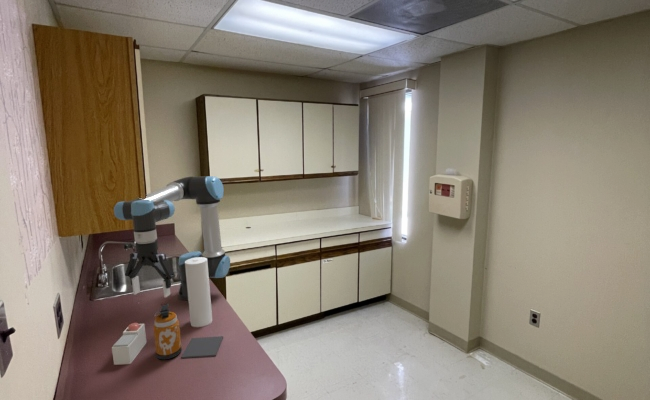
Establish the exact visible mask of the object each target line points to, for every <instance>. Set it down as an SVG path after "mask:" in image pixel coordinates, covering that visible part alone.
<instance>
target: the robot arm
mask: <svg viewBox="0 0 650 400" xmlns="http://www.w3.org/2000/svg"><path fill="white" fill-rule="evenodd" d="M224 190H225V189H224V185H223V182H222V180H220V178H219V177H217V176H210V175H208V176H207V175H205V176H204V175H203V176H199V175H198V176H185V177H181V178H179V179H176V180H173V181H171V182H168V183H167V184H166V185H165V186H164V187H162V188H159V189H157V190H155V191H152V192H150V193H147V194H146V195H147V196H146V198H145V199H142V198H139V197H138V198H139V199H137V198H135V199H132V200H128V201H126V200H123V201H118V202H116V204H115V205H114V207H113V213H114V217H115V218H116V219H118V220H121V221H132V226H133V236H134V237H133V238H134V242H135V243H134V248H135V251H134V252H131V253H130V254H129V261H128V264H127V268H126V270H125V273H124V275H125V277H128V278H129V279H130V285H131V286H132V292H133V295H138V294H139V293H141V287H140V278H139V275H138V274H139V272H140V271H141V269H142V268H143V266H148V267H152V268H154V270H155V271H156V272H157V273H158V274H159V275H160V276H161V277H162V279H163V280H162V288H163V298H168V297H169V296H170V295H171V287H172V282H171V281H172V279H173V278H175V277H176V273H175V272H174V271H173V268H172V267H171V265H170V263H169V261H168V259H167V255H166V253H161V254H159V253H158V250H159V244H158V240H157V239H158V234H157V225H156V223H157V222H160V221H164V220H168V219H169V218H170V217H172V216H173V215H174V214H175V209H176V208H175V205H174V203H173V202H179V201H181V200H195V202H196V203H195V204H196V205H197V206H198V207H199V211H200V221H201V229H202V238H203V247H204V248H203V249H204V251H203V252H201V251H200V250H197V251H196V250H195V251H190V252H187V253H183V254H181V255H180V256H179V258H178V268H179V269H178V270H179V278H180V284H179V288H178V292H177V294H178V295H177V297H178V299H180V300H182V301H188V290H187V280H186V269H185V261H186V260H188V259H191V258H196V257H205V258H207V262H208V274H209V279H211V278H213V279H219V278H220V279H221V278H225V277H226V276H227V275H228V273H229V271H230V267H231V258H230V256H229V255H226V251H225V250H224V249H223V248H222V240H221V239H222V238H221V228H220V220H219V218H220V217H219V207H218V205H219V204H220V203H221V199H223V197H224V192H225V191H224Z"/></svg>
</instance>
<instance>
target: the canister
mask: <svg viewBox="0 0 650 400" xmlns="http://www.w3.org/2000/svg"><path fill="white" fill-rule="evenodd" d="M154 317H155V318H154V321H153V322H154V324H153V335H154V344H155V352H156V354H155V355H156V358H158V359H160V360H169V359H171V358H175V357H176V356H178V355H179V354H180V353H182V350H183V349H182V341H181V329H180V321H179V319H178V315H177V314H176V313H175V312H174V311H170V306H169V303H168V302H167V304H164V305H163V304H162V303H161V308H160V310H159V311H157V312H156V313H155V314H154Z"/></svg>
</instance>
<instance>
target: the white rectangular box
mask: <svg viewBox="0 0 650 400" xmlns="http://www.w3.org/2000/svg"><path fill="white" fill-rule="evenodd" d="M138 324H139V329H138V330H137V331H129V328H128V326H127V327H126V329H124V331H122V335H121V337H120V338H118V340H117V341H116V342H114V344H113V346H112V347H111V353H112V358H113V366H116V365H117V366H118V365H132V363H133V361H134V360H135V359H136V358H137V357H138V355H139V354H140V353H141V352H142V349H143V348H144V347H145V345H146V344H147V336H146V335H147V334H146V327H145V326H146V324H145V323H138Z"/></svg>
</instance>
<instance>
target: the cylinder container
mask: <svg viewBox="0 0 650 400" xmlns="http://www.w3.org/2000/svg"><path fill="white" fill-rule="evenodd" d="M185 269H186V280H187V290H188V300H187V301H188V310H189V321H190V325H191V327H193V328H203V327H206V326H208V325H210V324H212V322H213V312H212V301H211V288H210V277H209V274H208V262H207V258H205V257H196V258H191V259H188V260H186V261H185Z"/></svg>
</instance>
